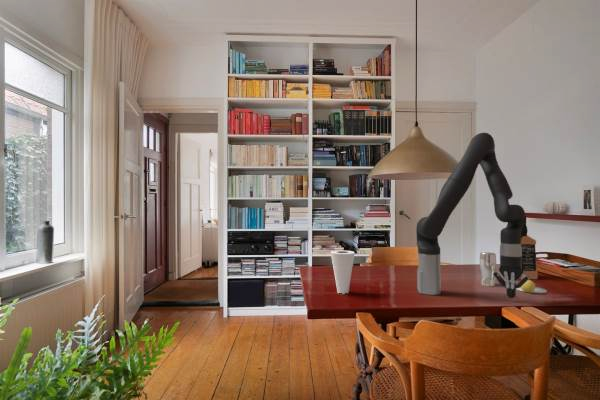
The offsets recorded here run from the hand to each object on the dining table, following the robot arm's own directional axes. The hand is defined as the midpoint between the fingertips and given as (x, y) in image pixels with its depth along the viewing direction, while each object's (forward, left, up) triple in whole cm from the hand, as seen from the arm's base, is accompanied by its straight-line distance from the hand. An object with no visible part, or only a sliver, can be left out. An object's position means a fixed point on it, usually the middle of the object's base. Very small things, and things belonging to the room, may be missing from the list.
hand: (511, 297), depth 138 cm
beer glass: (+2, +28, -2) cm, 28 cm away
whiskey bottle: (+26, +46, -2) cm, 53 cm away
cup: (-67, +7, -2) cm, 67 cm away
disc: (+17, +20, -2) cm, 26 cm away
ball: (+13, +15, +1) cm, 20 cm away
